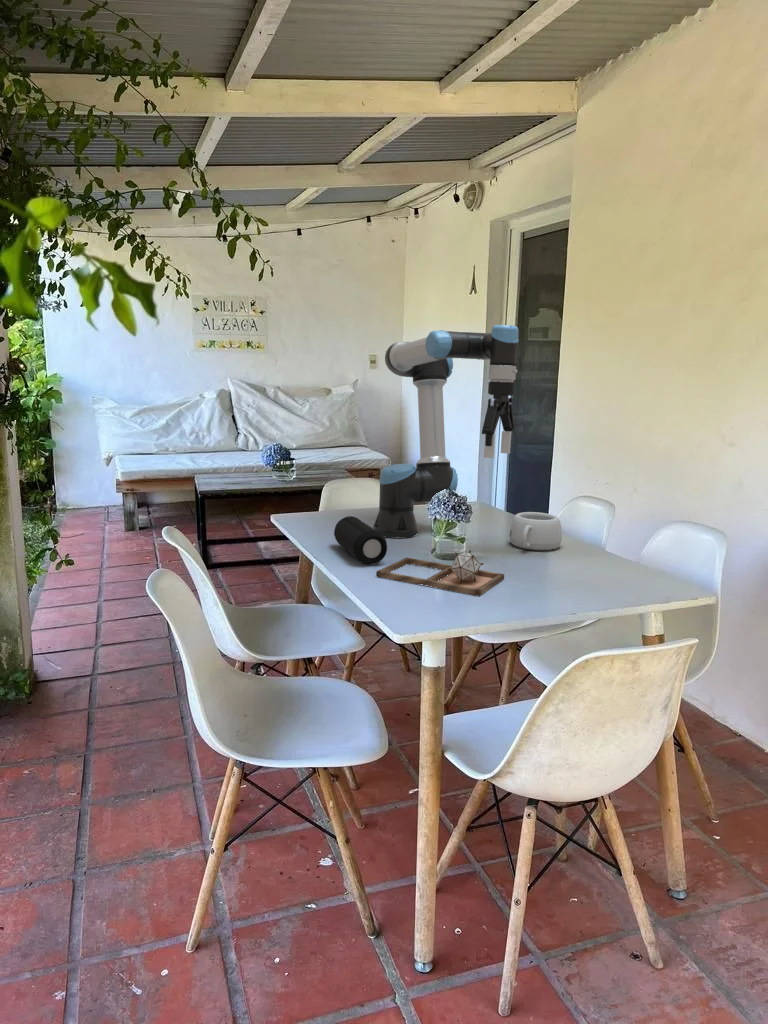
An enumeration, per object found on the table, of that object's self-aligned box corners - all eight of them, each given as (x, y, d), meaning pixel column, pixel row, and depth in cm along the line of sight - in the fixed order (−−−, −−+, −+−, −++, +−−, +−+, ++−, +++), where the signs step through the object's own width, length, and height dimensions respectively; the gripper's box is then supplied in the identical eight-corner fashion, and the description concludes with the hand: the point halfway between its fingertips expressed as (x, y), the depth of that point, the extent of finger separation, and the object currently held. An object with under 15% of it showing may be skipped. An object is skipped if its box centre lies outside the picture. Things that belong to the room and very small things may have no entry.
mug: (517, 537, 257) (519, 508, 255) (566, 544, 249) (569, 514, 247) (497, 550, 238) (499, 519, 236) (549, 558, 230) (551, 526, 228)
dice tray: (376, 576, 204) (376, 571, 204) (406, 562, 220) (406, 557, 219) (479, 596, 190) (479, 590, 190) (503, 579, 206) (504, 574, 205)
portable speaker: (389, 565, 216) (390, 532, 214) (356, 568, 213) (357, 533, 211) (361, 544, 239) (362, 514, 237) (331, 546, 236) (332, 515, 234)
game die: (470, 595, 202) (487, 572, 195) (441, 584, 201) (457, 560, 194) (473, 572, 208) (489, 549, 202) (445, 560, 207) (460, 537, 201)
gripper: (499, 382, 201) (494, 460, 205) (528, 381, 223) (523, 452, 227) (473, 380, 205) (468, 458, 209) (504, 380, 226) (499, 450, 230)
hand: (497, 455), depth 218 cm, fingers open, 13 cm apart
